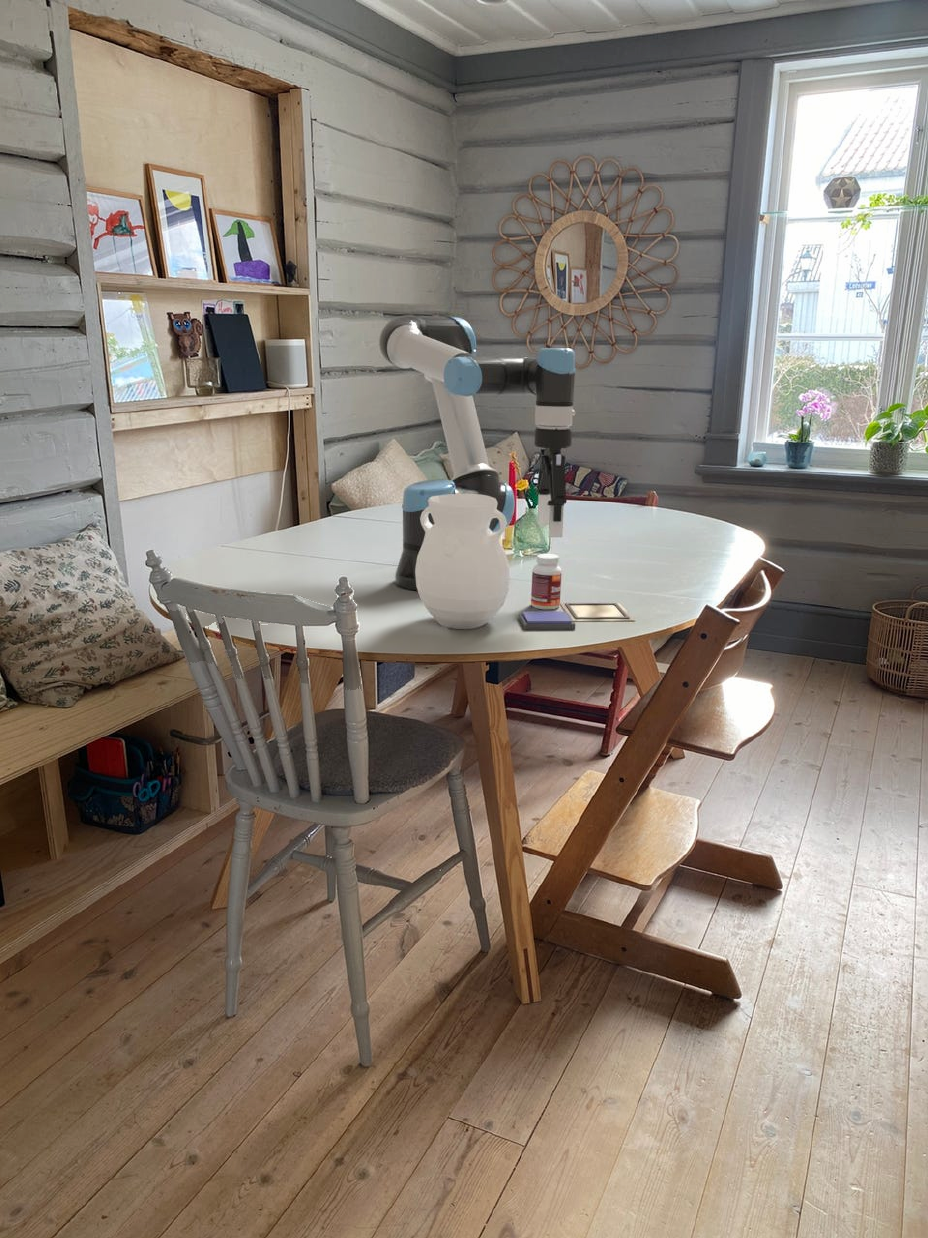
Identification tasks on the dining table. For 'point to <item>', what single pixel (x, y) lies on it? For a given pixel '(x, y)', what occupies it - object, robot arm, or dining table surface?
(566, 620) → the ink pad
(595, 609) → the cream flat square
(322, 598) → the dining table surface
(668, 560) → the dining table surface
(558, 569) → the pill bottle
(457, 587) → the white ceramic vase
